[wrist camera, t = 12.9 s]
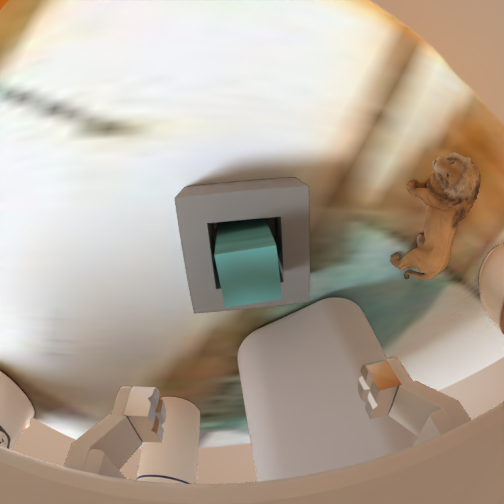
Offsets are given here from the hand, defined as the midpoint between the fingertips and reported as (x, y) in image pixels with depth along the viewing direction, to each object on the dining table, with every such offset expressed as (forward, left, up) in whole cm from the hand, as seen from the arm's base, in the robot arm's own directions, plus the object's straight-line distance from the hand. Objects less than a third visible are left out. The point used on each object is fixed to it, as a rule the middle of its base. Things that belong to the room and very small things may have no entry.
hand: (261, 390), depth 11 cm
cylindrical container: (-12, -25, -19) cm, 34 cm away
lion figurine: (+18, +1, -19) cm, 26 cm away
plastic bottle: (+7, -16, -19) cm, 26 cm away
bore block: (0, 0, -19) cm, 19 cm away
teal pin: (0, 0, -18) cm, 18 cm away
